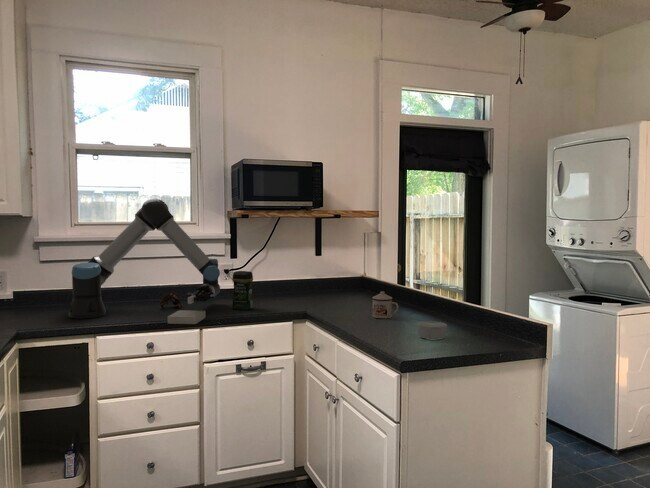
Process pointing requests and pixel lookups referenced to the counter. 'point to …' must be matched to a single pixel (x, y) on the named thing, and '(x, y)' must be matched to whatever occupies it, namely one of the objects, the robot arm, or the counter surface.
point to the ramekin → (431, 329)
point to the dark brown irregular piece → (172, 298)
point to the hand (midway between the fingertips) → (189, 300)
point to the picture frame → (186, 317)
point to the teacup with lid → (383, 306)
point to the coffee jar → (242, 290)
